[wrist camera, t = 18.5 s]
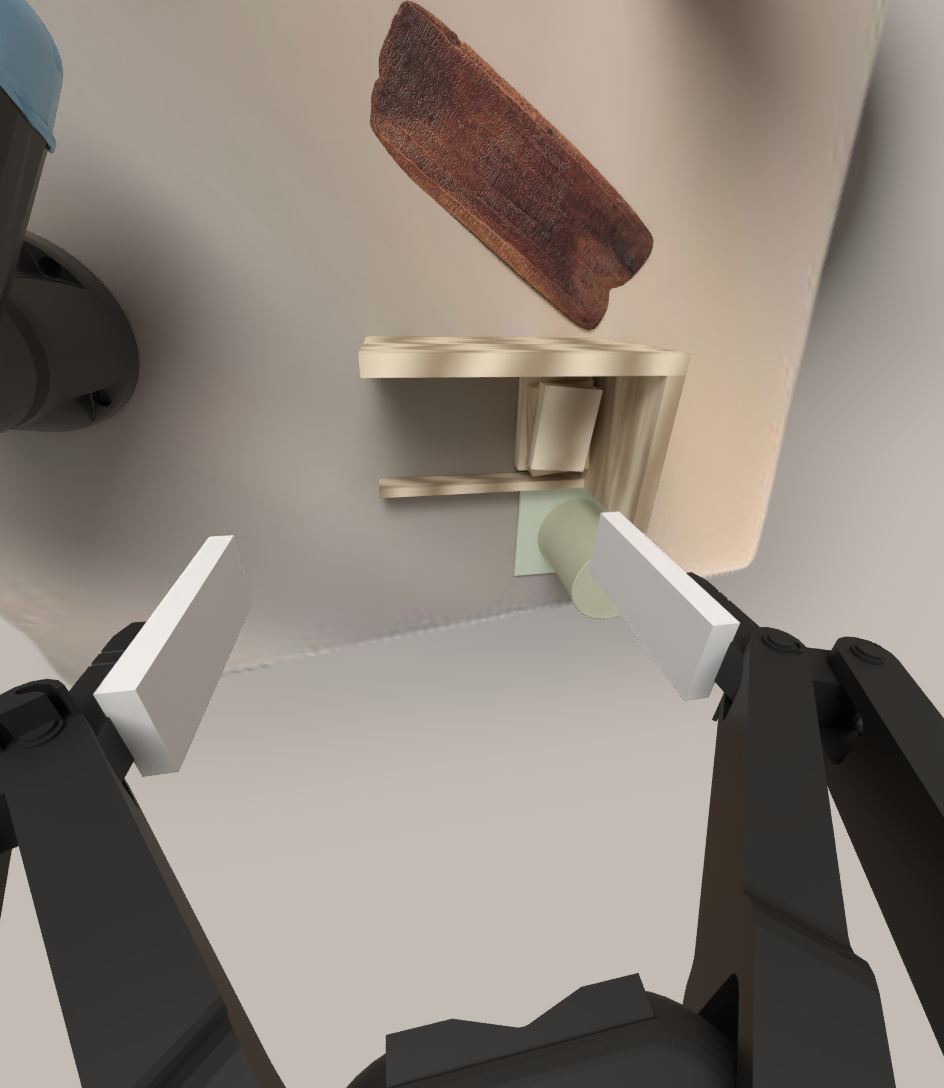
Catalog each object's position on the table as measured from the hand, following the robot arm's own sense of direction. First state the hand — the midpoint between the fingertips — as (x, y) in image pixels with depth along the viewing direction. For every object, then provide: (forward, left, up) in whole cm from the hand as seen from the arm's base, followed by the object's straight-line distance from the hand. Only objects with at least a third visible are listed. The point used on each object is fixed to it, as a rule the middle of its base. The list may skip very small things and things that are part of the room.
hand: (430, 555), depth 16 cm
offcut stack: (+16, -3, -32) cm, 35 cm away
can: (+20, -17, -31) cm, 41 cm away
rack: (+9, -3, -32) cm, 33 cm away
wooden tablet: (+11, +16, -33) cm, 38 cm away
